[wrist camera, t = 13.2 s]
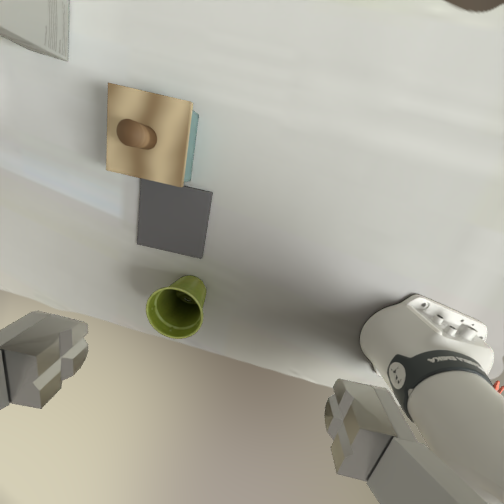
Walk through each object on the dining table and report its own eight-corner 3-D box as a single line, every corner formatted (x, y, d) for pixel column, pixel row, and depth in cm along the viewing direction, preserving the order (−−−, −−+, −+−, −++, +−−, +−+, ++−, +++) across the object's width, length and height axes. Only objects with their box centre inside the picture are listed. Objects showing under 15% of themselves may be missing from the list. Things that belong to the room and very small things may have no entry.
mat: (212, 192, 41) (211, 192, 40) (202, 257, 45) (201, 258, 44) (143, 176, 41) (141, 176, 40) (138, 243, 44) (136, 244, 44)
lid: (193, 103, 32) (178, 90, 27) (183, 186, 36) (168, 189, 31) (112, 85, 32) (83, 68, 27) (110, 170, 36) (84, 169, 31)
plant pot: (162, 300, 48) (140, 327, 40) (173, 259, 45) (152, 279, 37) (206, 316, 48) (193, 346, 40) (221, 277, 45) (210, 300, 37)
